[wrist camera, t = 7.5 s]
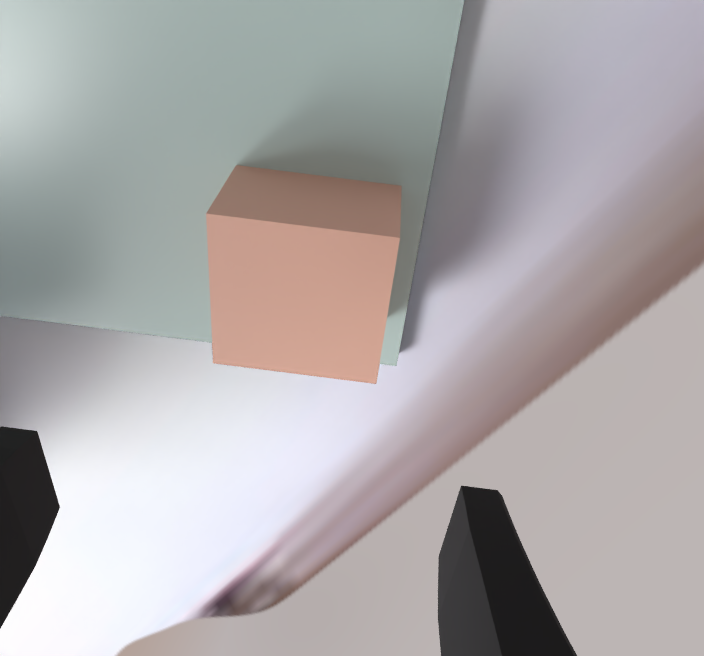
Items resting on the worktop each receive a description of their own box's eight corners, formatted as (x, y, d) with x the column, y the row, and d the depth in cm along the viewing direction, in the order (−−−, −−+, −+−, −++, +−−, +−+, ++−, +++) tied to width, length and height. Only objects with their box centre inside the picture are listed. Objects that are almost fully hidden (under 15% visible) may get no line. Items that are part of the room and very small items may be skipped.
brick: (380, 320, 19) (376, 383, 17) (238, 302, 19) (213, 363, 17) (401, 185, 16) (400, 237, 14) (236, 165, 16) (206, 213, 14)
